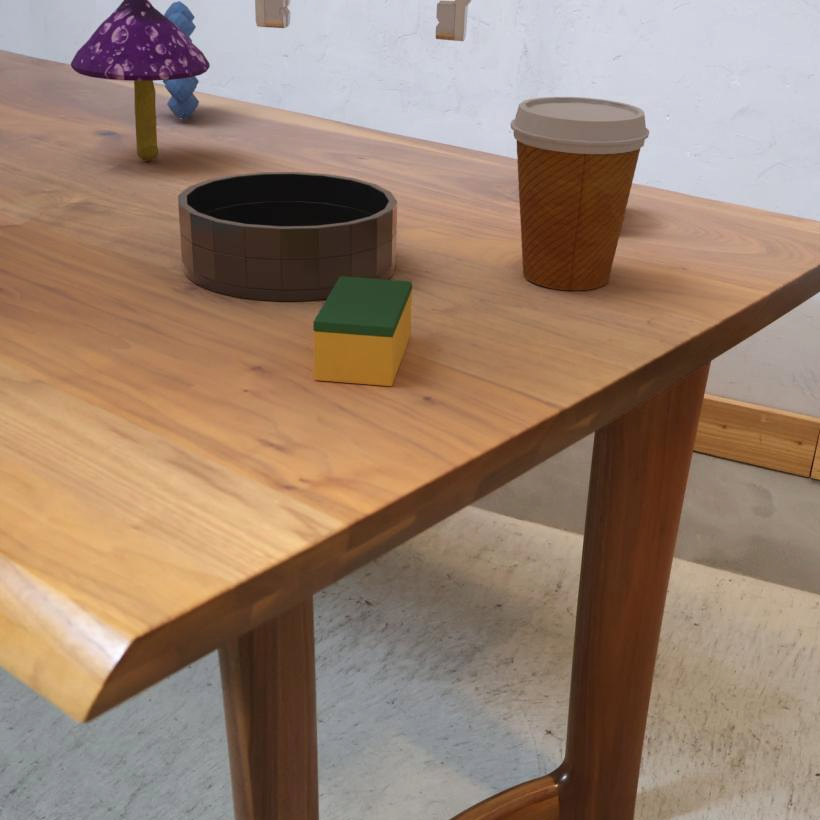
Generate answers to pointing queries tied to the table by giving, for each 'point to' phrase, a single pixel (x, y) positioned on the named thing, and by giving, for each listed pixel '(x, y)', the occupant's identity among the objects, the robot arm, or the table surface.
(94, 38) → the decorative mushroom
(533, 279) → the disposable coffee cup
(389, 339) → the sponge
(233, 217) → the bowl
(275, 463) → the table surface
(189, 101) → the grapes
